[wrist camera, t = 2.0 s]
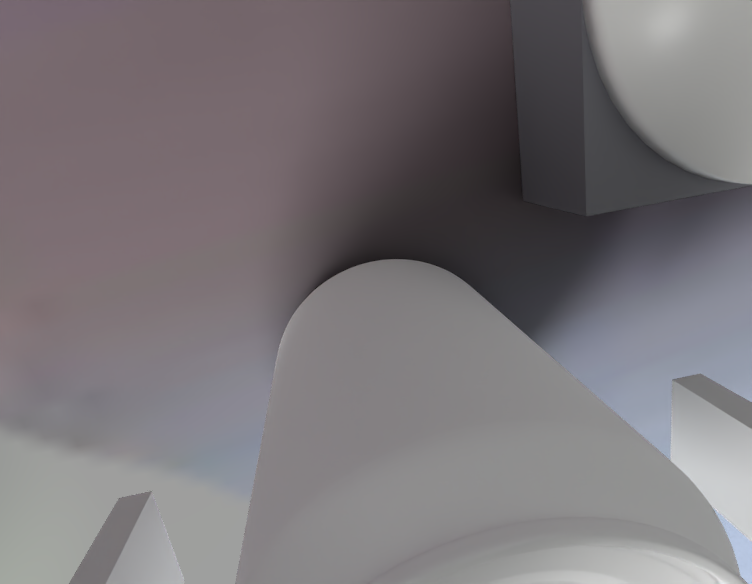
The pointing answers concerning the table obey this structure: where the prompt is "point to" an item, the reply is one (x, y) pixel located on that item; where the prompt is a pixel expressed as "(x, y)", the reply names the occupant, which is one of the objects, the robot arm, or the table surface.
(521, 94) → the grey hot plate stirrer
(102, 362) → the table surface
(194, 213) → the table surface
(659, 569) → the beverage can
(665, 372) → the table surface
